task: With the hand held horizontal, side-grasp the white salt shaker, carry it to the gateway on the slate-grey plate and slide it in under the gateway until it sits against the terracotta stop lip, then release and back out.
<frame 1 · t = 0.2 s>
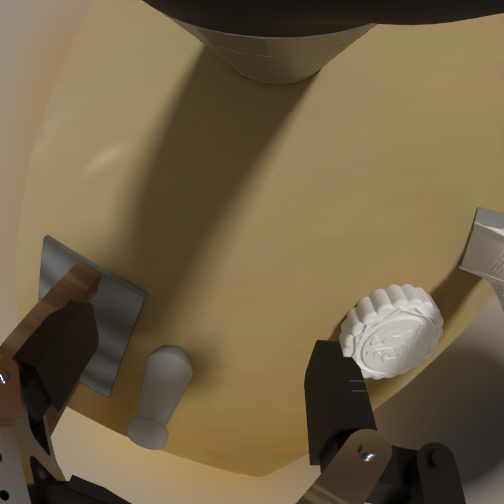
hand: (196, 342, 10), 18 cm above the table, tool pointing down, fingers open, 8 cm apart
skyscraper: (482, 245, 26), on the table
gateway: (79, 330, 36), on the table
salt shaker: (174, 355, 36), on the table
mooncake: (388, 325, 32), on the table
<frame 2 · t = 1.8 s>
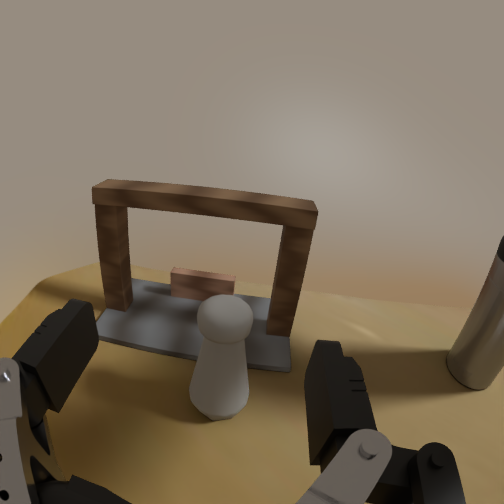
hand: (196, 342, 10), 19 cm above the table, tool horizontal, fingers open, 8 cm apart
gateway: (195, 322, 40), on the table
salt shaker: (217, 406, 28), on the table
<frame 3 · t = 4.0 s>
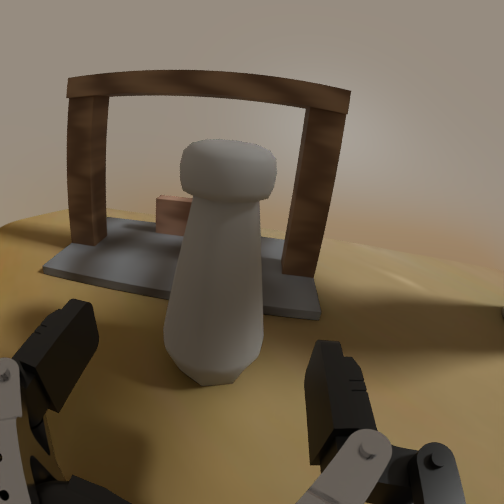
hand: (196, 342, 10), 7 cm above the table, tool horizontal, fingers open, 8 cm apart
gateway: (184, 260, 30), on the table
salt shaker: (211, 364, 18), on the table
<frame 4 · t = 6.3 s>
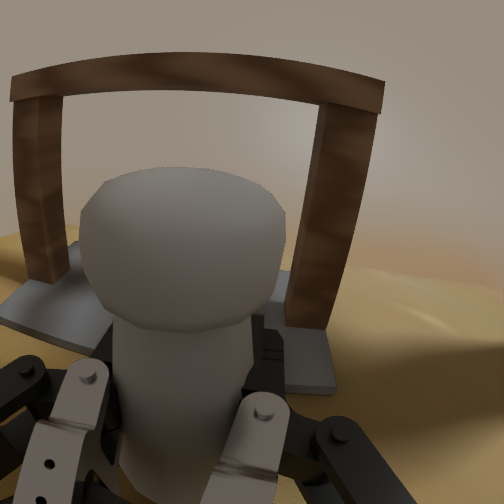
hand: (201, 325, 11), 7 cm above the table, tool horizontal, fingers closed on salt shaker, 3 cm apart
gateway: (161, 304, 23), on the table
salt shaker: (189, 472, 11), on the table, touching gripper
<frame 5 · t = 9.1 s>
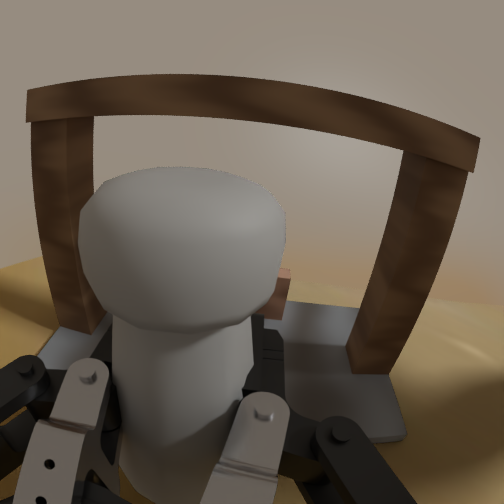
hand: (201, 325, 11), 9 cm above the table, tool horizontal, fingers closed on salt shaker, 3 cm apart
gateway: (219, 354, 21), on the table
salt shaker: (189, 472, 11), point 2 cm above the table, touching gripper
when the fingers open (8 cm above the table, at t = 11.8 s): salt shaker stays where it is, resting on gateway.
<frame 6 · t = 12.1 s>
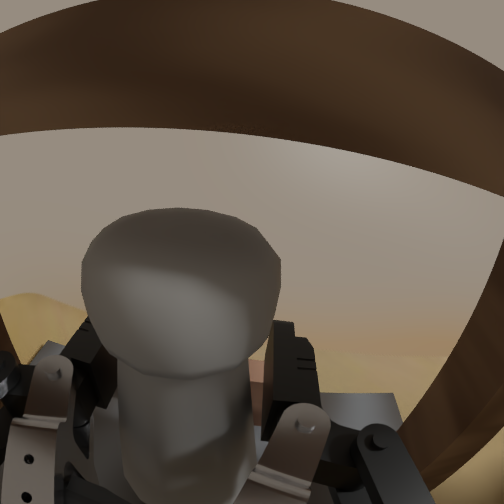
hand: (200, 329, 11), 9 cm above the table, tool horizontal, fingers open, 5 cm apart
gateway: (191, 482, 12), on the table
salt shaker: (191, 480, 12), point 1 cm above the table, touching gateway
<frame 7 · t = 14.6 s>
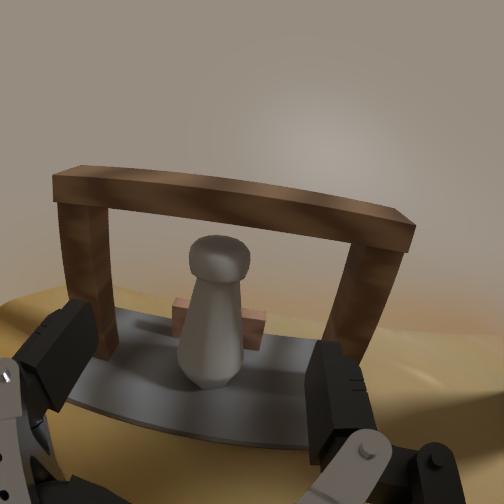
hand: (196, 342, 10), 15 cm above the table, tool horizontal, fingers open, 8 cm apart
gateway: (208, 377, 27), on the table
salt shaker: (208, 374, 26), point 1 cm above the table, touching gateway
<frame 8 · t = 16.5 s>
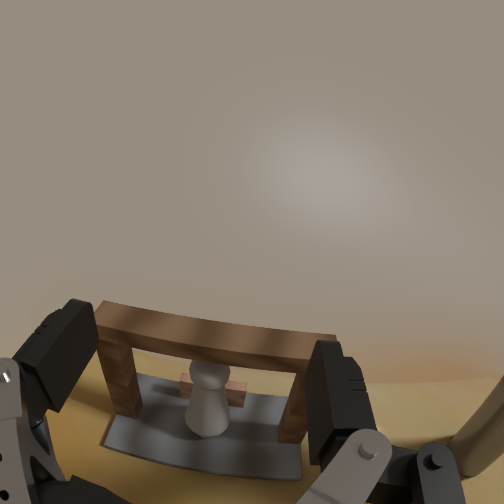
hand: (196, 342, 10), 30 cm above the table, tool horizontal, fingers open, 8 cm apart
gateway: (207, 428, 36), on the table
salt shaker: (207, 427, 36), point 1 cm above the table, touching gateway
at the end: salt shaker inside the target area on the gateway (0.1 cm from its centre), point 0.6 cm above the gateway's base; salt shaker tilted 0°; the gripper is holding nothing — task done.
